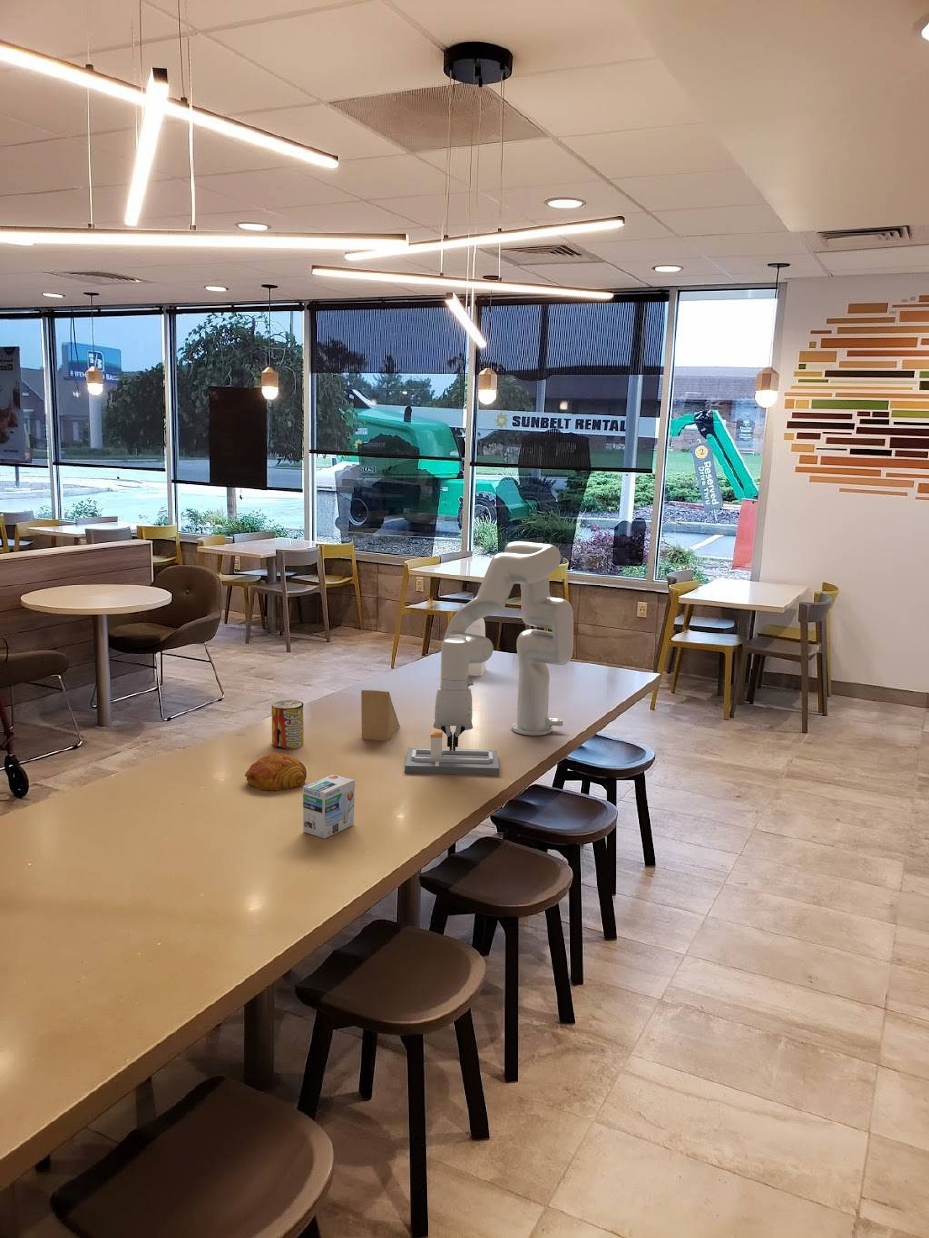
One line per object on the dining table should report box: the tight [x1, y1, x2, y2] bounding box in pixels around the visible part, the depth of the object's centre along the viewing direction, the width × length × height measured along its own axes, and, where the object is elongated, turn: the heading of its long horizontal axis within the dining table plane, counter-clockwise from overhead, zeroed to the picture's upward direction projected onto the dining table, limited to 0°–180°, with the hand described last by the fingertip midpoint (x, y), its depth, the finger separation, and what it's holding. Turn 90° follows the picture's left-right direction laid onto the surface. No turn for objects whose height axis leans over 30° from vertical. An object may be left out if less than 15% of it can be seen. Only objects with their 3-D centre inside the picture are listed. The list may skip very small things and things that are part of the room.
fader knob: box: [430, 728, 444, 758], centre depth 254 cm, size 3×5×7 cm, turn 0°
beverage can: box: [271, 699, 305, 750], centre depth 267 cm, size 9×9×12 cm
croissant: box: [244, 752, 308, 792], centre depth 238 cm, size 14×16×8 cm
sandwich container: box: [360, 689, 401, 741], centre depth 281 cm, size 9×15×15 cm, turn 170°
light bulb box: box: [302, 774, 356, 840], centre depth 210 cm, size 11×7×11 cm, turn 148°
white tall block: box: [461, 604, 487, 677], centre depth 360 cm, size 12×12×26 cm
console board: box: [404, 747, 500, 776], centre depth 255 cm, size 25×15×3 cm, turn 90°
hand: (452, 749), depth 254 cm, fingers closed
